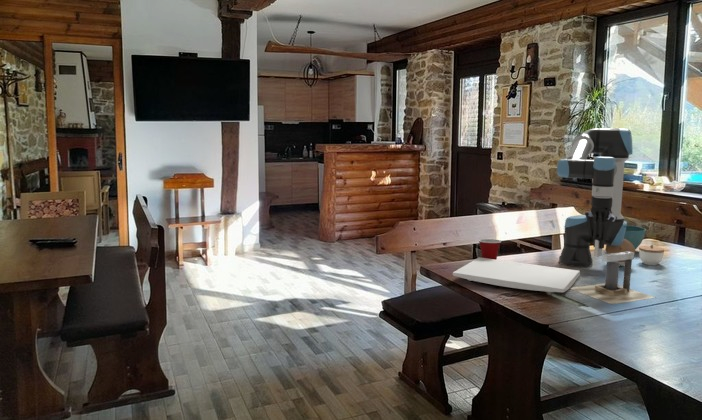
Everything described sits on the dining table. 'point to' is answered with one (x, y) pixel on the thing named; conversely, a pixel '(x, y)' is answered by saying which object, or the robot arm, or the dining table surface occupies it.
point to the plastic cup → (489, 248)
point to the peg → (612, 275)
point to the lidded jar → (651, 254)
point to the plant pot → (634, 235)
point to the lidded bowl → (620, 249)
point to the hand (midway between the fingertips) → (597, 255)
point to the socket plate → (617, 295)
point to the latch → (618, 256)
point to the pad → (568, 300)
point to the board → (518, 275)
